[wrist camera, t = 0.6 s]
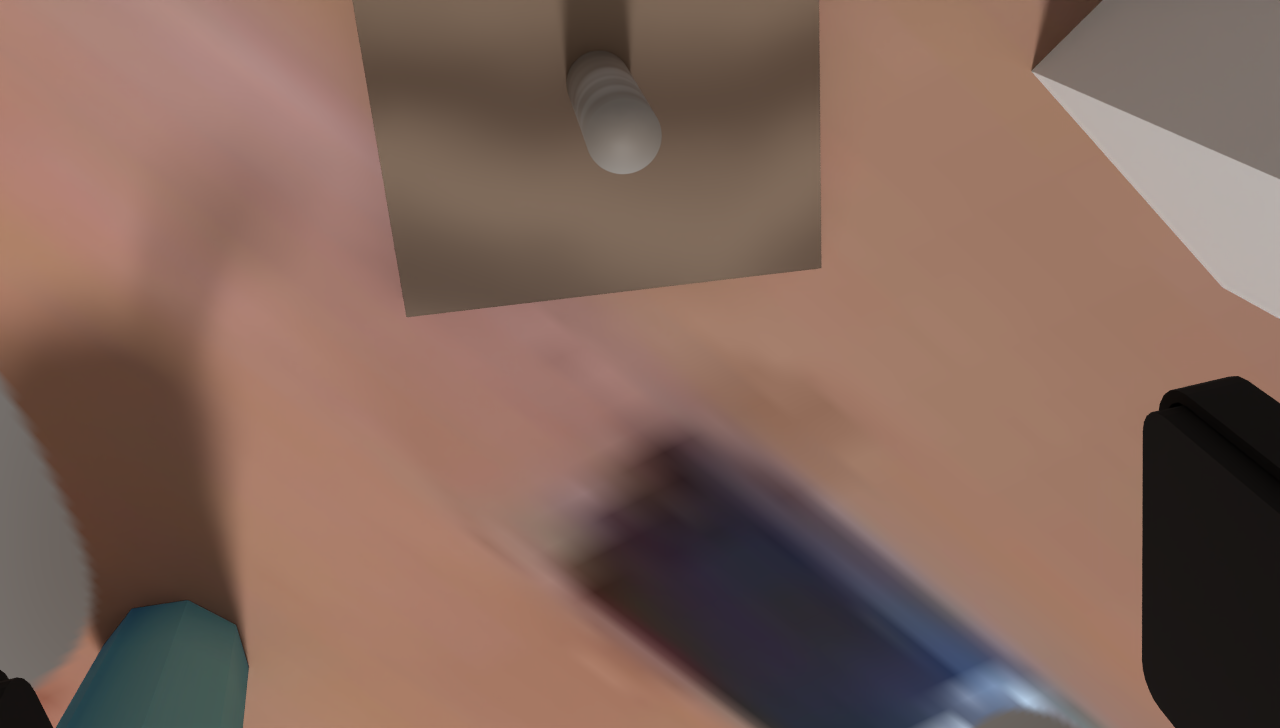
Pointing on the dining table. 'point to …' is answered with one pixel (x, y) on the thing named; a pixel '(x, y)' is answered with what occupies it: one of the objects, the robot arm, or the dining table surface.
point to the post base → (593, 144)
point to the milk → (1188, 122)
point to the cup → (165, 673)
